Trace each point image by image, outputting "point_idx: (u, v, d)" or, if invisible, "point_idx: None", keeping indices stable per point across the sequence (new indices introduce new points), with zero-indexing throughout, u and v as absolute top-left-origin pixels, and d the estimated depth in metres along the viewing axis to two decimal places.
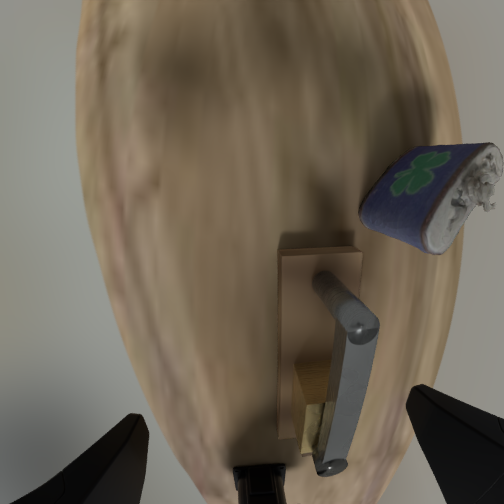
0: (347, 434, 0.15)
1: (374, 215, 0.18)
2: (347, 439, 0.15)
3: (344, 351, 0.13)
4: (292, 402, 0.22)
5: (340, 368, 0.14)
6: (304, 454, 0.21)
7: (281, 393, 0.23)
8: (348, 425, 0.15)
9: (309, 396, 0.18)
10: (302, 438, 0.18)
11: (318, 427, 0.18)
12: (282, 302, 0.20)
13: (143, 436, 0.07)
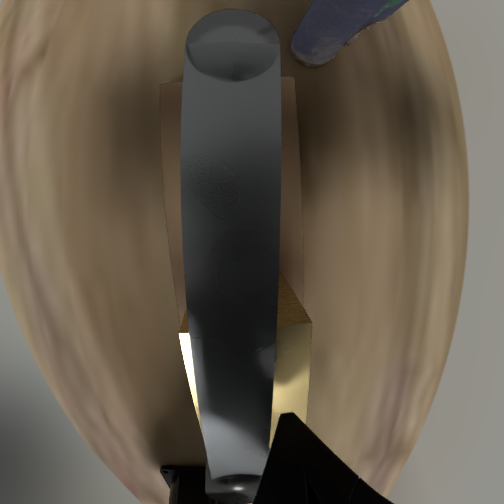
0: (251, 415, 0.06)
1: (302, 22, 0.10)
2: (256, 430, 0.07)
3: (183, 98, 0.05)
4: None
5: None
6: None
7: None
8: (247, 387, 0.06)
9: None
10: None
11: None
12: (162, 156, 0.12)
13: None
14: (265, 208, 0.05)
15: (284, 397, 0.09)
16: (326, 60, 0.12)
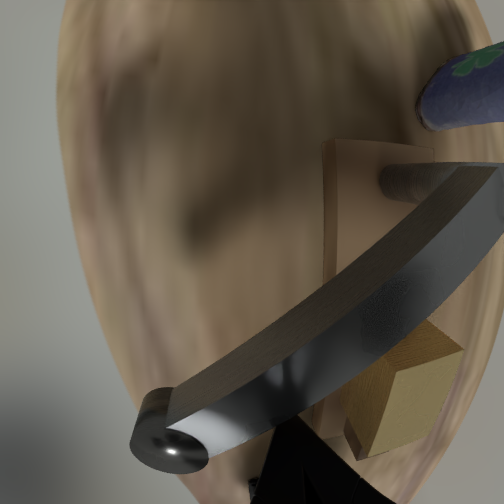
0: (298, 398, 0.06)
1: (443, 100, 0.11)
2: (280, 412, 0.07)
3: (478, 188, 0.06)
4: None
5: (450, 213, 0.06)
6: (359, 458, 0.14)
7: None
8: (330, 373, 0.06)
9: (394, 358, 0.10)
10: (375, 432, 0.11)
11: (402, 410, 0.10)
12: (338, 211, 0.13)
13: None
14: (453, 281, 0.06)
15: (434, 403, 0.10)
16: None
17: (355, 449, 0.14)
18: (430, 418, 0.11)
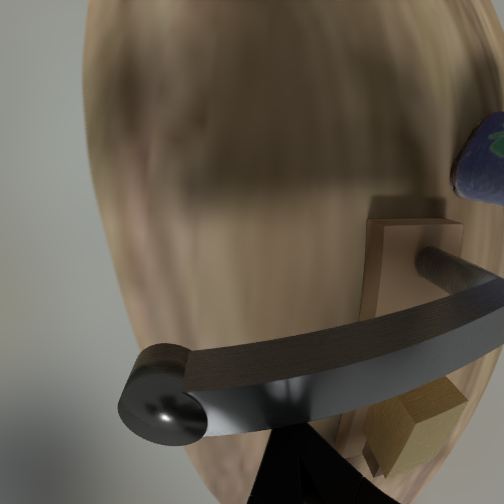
0: (327, 405, 0.07)
1: (479, 179, 0.12)
2: (304, 413, 0.07)
3: None
4: (369, 417, 0.16)
5: (488, 308, 0.07)
6: (376, 475, 0.15)
7: None
8: (363, 393, 0.07)
9: (414, 411, 0.12)
10: (394, 462, 0.12)
11: (416, 446, 0.11)
12: (379, 290, 0.14)
13: None
14: (467, 358, 0.07)
15: (440, 437, 0.12)
16: None
17: (373, 468, 0.16)
18: (436, 448, 0.12)
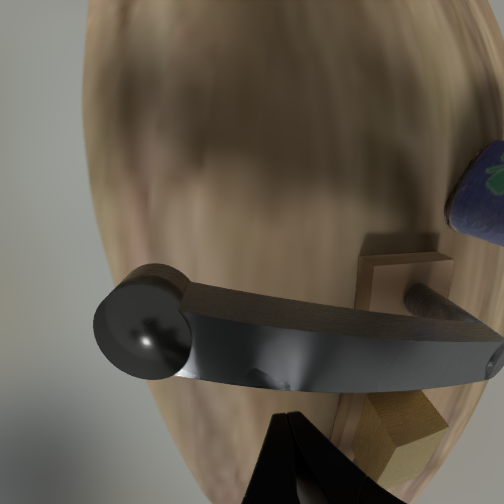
0: (315, 377, 0.07)
1: (472, 216, 0.13)
2: (290, 378, 0.07)
3: (493, 341, 0.07)
4: (357, 436, 0.17)
5: (474, 338, 0.07)
6: None
7: (345, 427, 0.17)
8: (351, 375, 0.07)
9: (395, 435, 0.12)
10: (377, 479, 0.12)
11: (398, 466, 0.12)
12: None
13: None
14: (444, 380, 0.07)
15: (422, 458, 0.12)
16: None
17: None
18: (419, 467, 0.13)
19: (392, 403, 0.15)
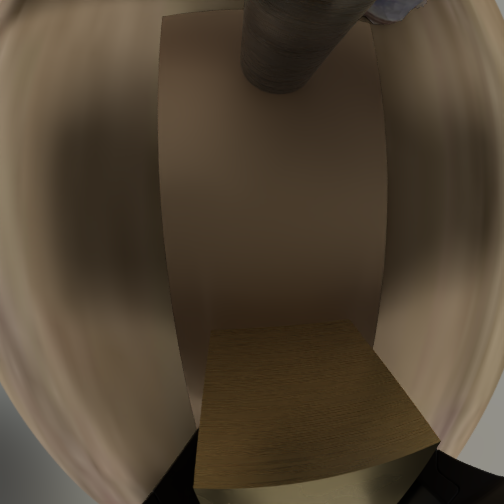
0: None
1: None
2: None
3: None
4: None
5: None
6: None
7: (194, 409, 0.09)
8: None
9: (221, 445, 0.04)
10: None
11: None
12: (160, 124, 0.06)
13: None
14: None
15: None
16: (400, 17, 0.07)
17: None
18: None
19: (265, 355, 0.07)
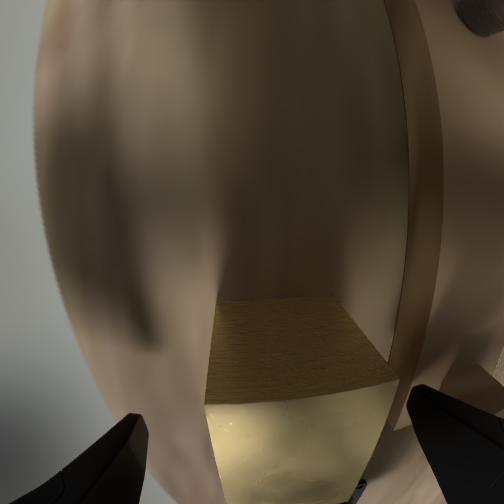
0: None
1: None
2: None
3: None
4: None
5: None
6: None
7: (437, 285, 0.08)
8: None
9: (225, 376, 0.06)
10: None
11: (262, 471, 0.06)
12: (422, 23, 0.06)
13: (143, 436, 0.07)
14: None
15: (341, 465, 0.06)
16: None
17: None
18: (341, 484, 0.06)
19: (260, 317, 0.08)
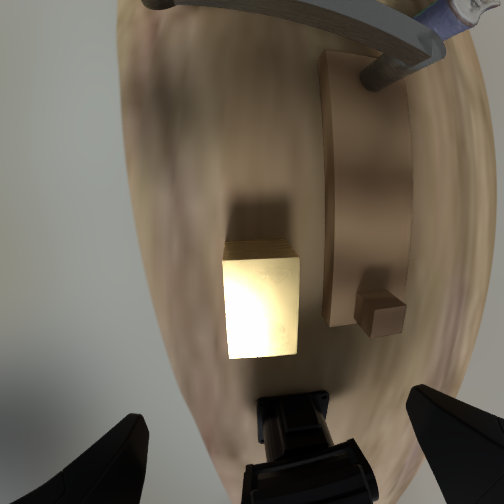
0: None
1: None
2: None
3: (410, 18, 0.08)
4: None
5: None
6: (373, 334, 0.16)
7: (335, 230, 0.18)
8: None
9: (230, 256, 0.16)
10: (227, 327, 0.16)
11: (245, 307, 0.16)
12: (330, 95, 0.16)
13: (143, 436, 0.07)
14: (370, 20, 0.08)
15: (283, 310, 0.16)
16: None
17: (368, 324, 0.17)
18: (287, 330, 0.16)
19: (246, 244, 0.18)
